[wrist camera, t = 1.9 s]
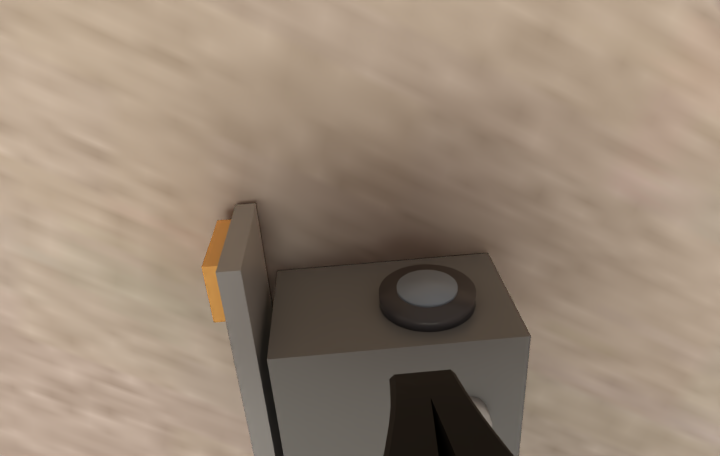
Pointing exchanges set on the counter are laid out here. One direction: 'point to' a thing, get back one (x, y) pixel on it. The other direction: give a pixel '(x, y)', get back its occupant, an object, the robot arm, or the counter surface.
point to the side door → (245, 317)
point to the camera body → (390, 348)
